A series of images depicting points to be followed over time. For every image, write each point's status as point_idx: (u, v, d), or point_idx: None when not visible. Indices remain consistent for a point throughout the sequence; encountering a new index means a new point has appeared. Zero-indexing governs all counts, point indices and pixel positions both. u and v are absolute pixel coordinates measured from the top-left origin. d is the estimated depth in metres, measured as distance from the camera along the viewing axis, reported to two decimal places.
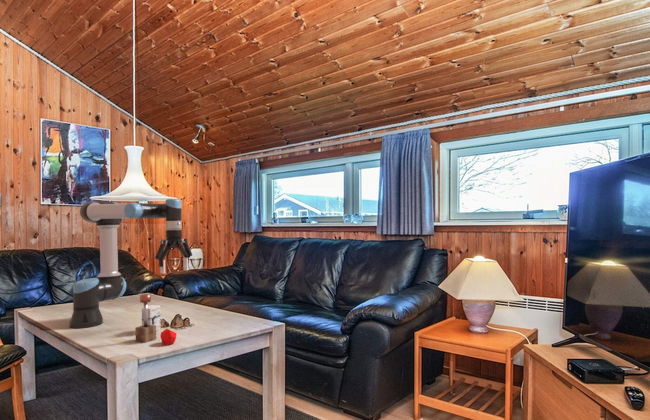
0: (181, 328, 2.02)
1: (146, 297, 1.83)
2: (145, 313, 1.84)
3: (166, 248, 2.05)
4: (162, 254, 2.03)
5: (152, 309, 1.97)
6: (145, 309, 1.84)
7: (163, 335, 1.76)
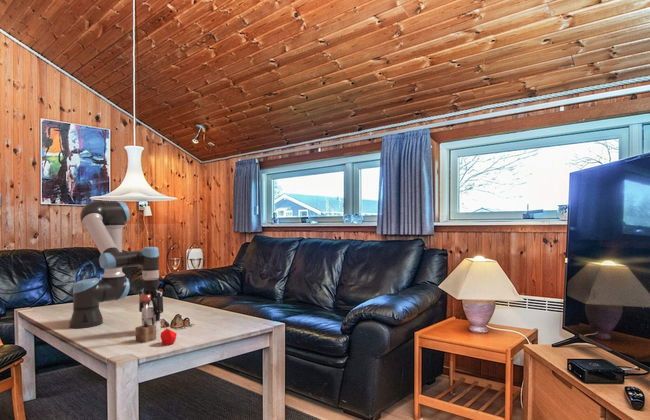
0: (181, 328, 2.02)
1: (146, 297, 1.83)
2: (145, 313, 1.84)
3: None
4: None
5: (152, 309, 1.97)
6: (145, 309, 1.84)
7: (163, 335, 1.76)
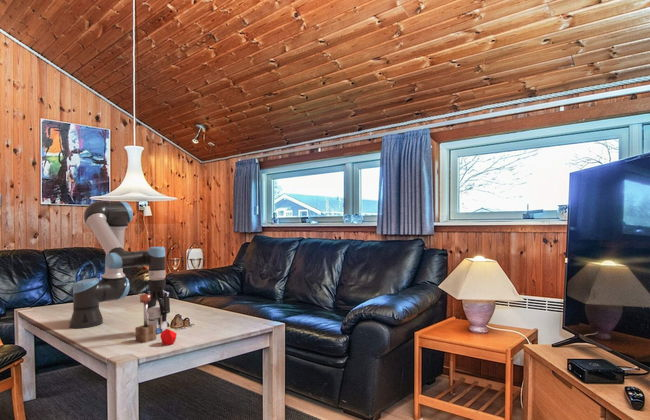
0: (181, 328, 2.02)
1: (146, 297, 1.83)
2: (145, 313, 1.84)
3: None
4: None
5: (158, 309, 1.95)
6: (145, 309, 1.84)
7: (163, 335, 1.76)
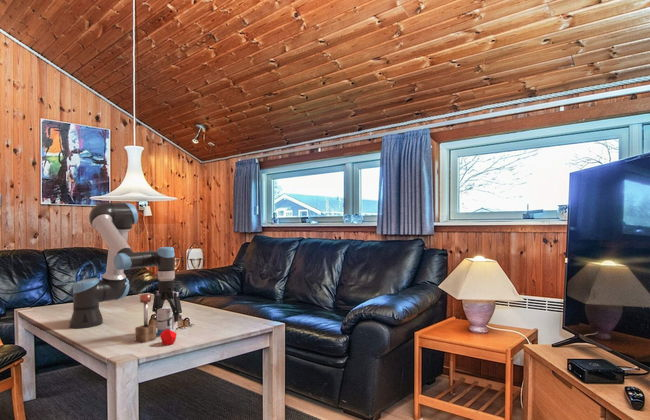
0: (181, 328, 2.02)
1: (146, 297, 1.83)
2: (145, 313, 1.84)
3: None
4: None
5: (168, 310, 1.93)
6: (145, 309, 1.84)
7: (163, 335, 1.76)
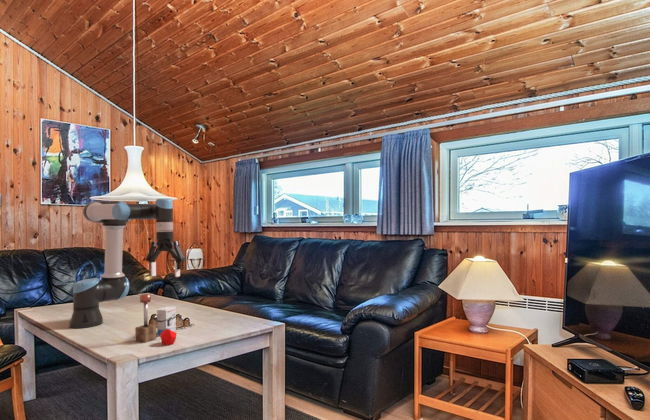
0: (181, 328, 2.02)
1: (146, 297, 1.83)
2: (145, 313, 1.84)
3: None
4: None
5: (168, 310, 1.93)
6: (145, 309, 1.84)
7: (163, 335, 1.76)
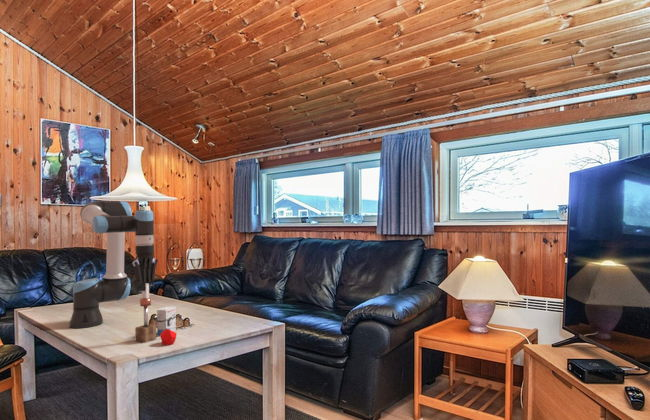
0: (181, 328, 2.02)
1: (147, 300, 1.83)
2: (145, 317, 1.84)
3: (141, 269, 1.83)
4: None
5: (168, 310, 1.93)
6: (145, 313, 1.84)
7: (163, 335, 1.76)
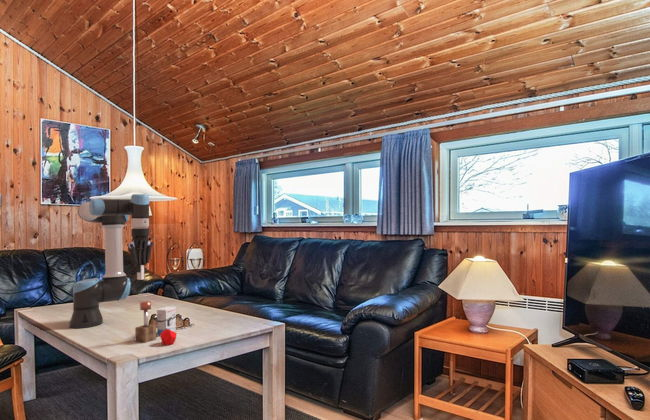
0: (181, 328, 2.02)
1: (147, 304, 1.83)
2: (145, 320, 1.84)
3: (136, 251, 1.89)
4: None
5: (168, 310, 1.93)
6: (145, 316, 1.84)
7: (163, 335, 1.76)
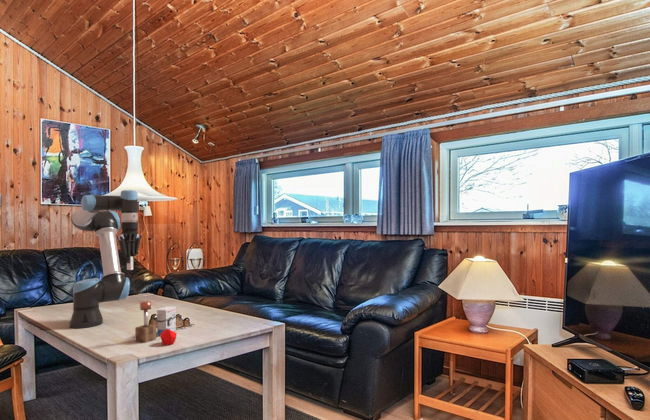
0: (181, 328, 2.02)
1: (147, 304, 1.83)
2: (145, 320, 1.84)
3: (126, 243, 2.03)
4: None
5: (168, 310, 1.93)
6: (145, 316, 1.84)
7: (163, 335, 1.76)
